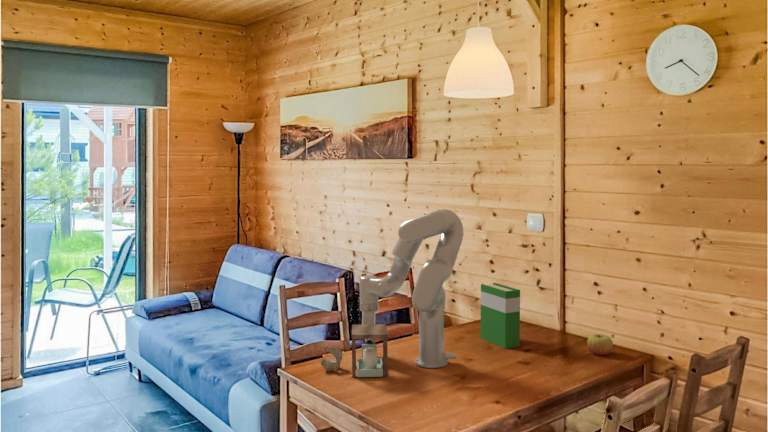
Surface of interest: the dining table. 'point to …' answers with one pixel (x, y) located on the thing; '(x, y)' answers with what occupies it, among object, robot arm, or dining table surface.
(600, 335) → the apple
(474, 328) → the dining table surface
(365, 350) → the pale upright block
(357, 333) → the small wooden stool
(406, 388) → the dining table surface
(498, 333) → the hardback book
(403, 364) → the dining table surface
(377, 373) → the grey armchair
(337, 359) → the grey curved piece
